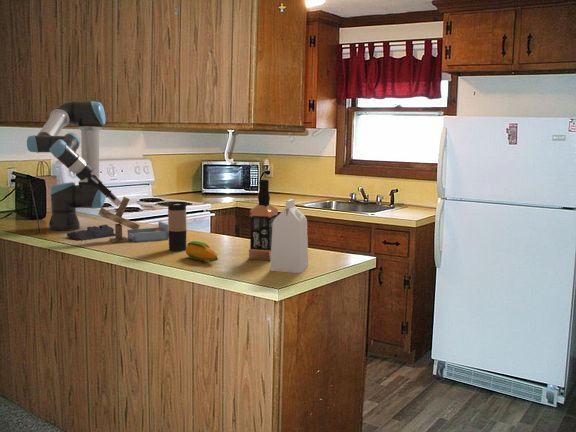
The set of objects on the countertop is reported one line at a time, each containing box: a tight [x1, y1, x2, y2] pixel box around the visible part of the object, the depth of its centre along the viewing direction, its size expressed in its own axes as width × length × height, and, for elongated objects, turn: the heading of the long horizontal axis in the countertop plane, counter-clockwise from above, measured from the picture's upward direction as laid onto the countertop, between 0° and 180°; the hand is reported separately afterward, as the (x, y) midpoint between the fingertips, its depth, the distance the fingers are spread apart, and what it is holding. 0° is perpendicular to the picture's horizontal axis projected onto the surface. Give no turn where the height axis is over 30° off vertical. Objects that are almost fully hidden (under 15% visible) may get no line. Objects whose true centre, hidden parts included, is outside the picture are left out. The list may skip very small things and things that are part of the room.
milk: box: [269, 198, 309, 274], centre depth 231 cm, size 12×12×26 cm
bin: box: [127, 220, 169, 243], centre depth 290 cm, size 16×12×7 cm
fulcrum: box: [109, 223, 129, 244], centre depth 284 cm, size 7×7×8 cm
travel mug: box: [167, 202, 187, 252], centre depth 264 cm, size 8×8×20 cm
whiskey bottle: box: [248, 178, 279, 262], centre depth 249 cm, size 10×10×32 cm
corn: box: [185, 240, 219, 262], centre depth 245 cm, size 7×8×20 cm
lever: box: [98, 196, 141, 231], centre depth 284 cm, size 18×9×12 cm, turn 118°
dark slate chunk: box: [66, 224, 115, 242], centre depth 295 cm, size 15×22×5 cm
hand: (119, 204), depth 286 cm, fingers closed
